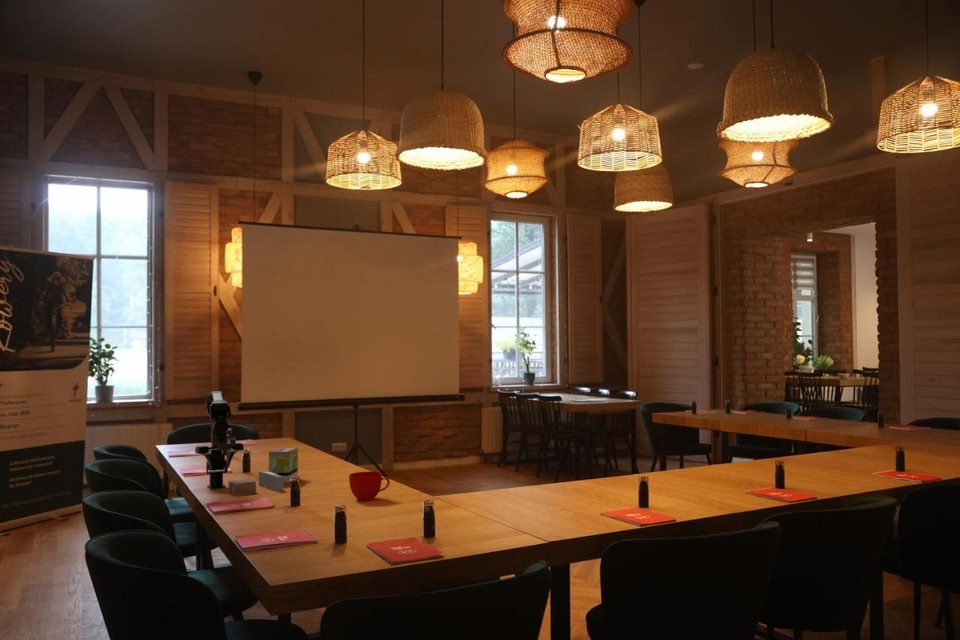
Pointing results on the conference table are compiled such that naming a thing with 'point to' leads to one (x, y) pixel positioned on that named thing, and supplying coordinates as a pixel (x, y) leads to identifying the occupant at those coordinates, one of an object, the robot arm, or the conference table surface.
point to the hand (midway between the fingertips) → (219, 468)
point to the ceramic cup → (366, 485)
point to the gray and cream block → (271, 480)
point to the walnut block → (242, 486)
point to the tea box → (284, 462)
